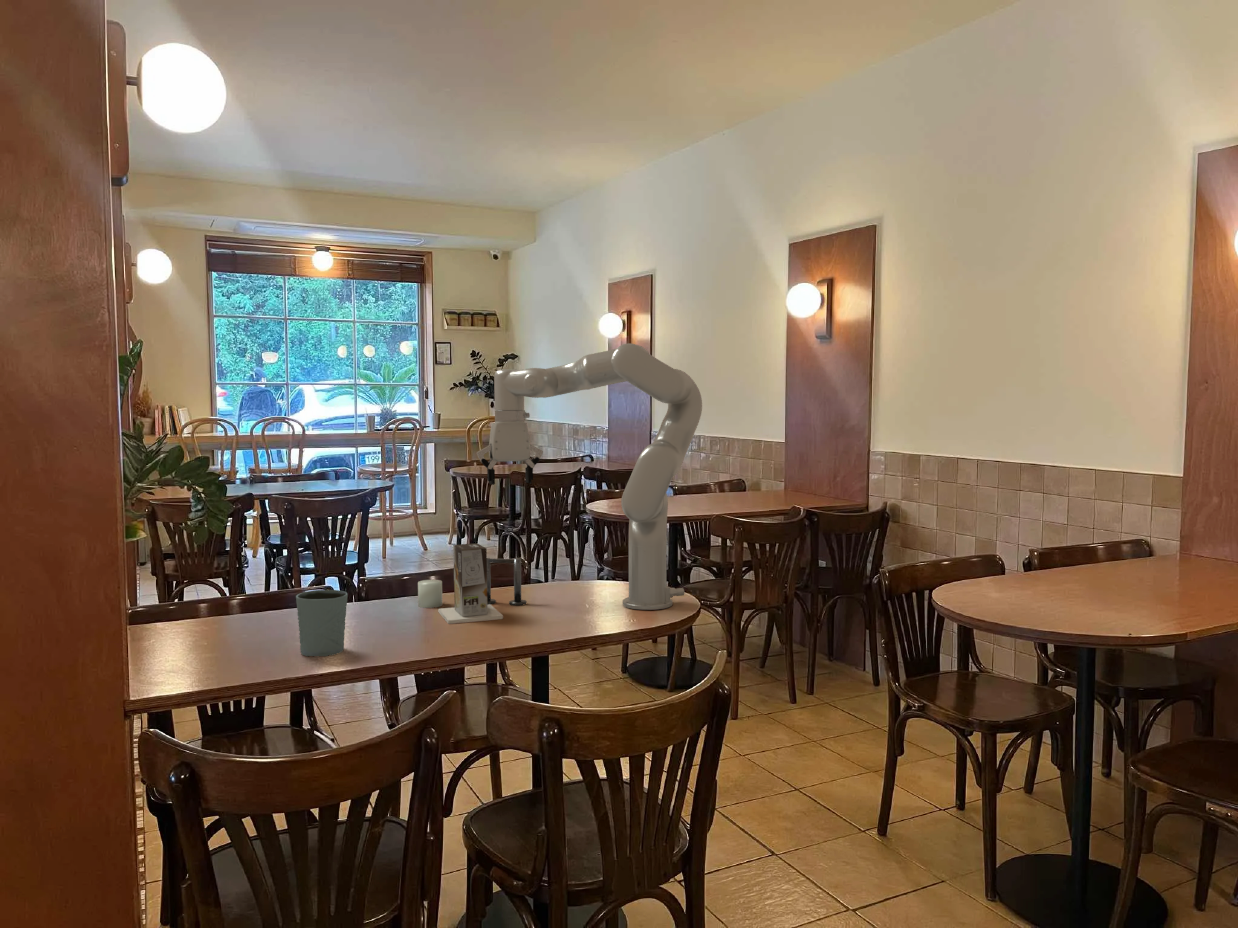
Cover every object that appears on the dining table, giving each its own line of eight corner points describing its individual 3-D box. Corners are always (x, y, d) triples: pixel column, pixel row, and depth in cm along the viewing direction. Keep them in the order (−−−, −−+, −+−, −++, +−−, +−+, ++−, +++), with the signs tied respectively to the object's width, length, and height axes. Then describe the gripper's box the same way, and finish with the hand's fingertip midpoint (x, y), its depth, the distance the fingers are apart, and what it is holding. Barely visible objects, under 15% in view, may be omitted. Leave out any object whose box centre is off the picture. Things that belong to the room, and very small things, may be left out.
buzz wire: (519, 598, 242) (519, 554, 241) (528, 604, 234) (528, 559, 233) (449, 604, 235) (449, 559, 235) (456, 611, 228) (455, 564, 227)
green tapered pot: (289, 651, 192) (287, 594, 191) (334, 642, 199) (332, 587, 198) (311, 660, 185) (310, 601, 184) (357, 650, 192) (356, 593, 191)
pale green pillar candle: (440, 601, 238) (439, 579, 238) (444, 606, 233) (444, 583, 232) (416, 603, 236) (416, 580, 236) (420, 608, 231) (419, 585, 230)
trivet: (490, 607, 231) (490, 604, 231) (502, 618, 219) (502, 615, 219) (438, 611, 227) (438, 608, 227) (448, 623, 215) (448, 620, 214)
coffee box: (488, 614, 220) (487, 548, 219) (462, 617, 217) (461, 549, 216) (478, 606, 228) (477, 542, 227) (453, 609, 226) (452, 544, 225)
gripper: (537, 416, 244) (538, 481, 246) (473, 417, 238) (474, 483, 239) (546, 417, 237) (546, 483, 239) (479, 418, 231) (480, 486, 232)
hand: (510, 483), depth 239 cm, fingers open, 9 cm apart
